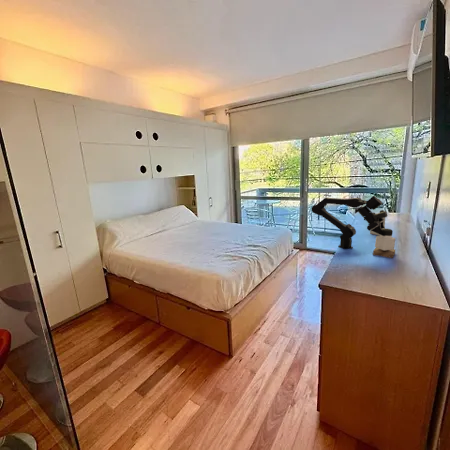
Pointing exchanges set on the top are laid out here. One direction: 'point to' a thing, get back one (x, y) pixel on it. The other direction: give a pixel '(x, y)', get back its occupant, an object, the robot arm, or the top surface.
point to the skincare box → (375, 232)
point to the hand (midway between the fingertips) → (385, 234)
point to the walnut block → (384, 252)
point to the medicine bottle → (385, 240)
